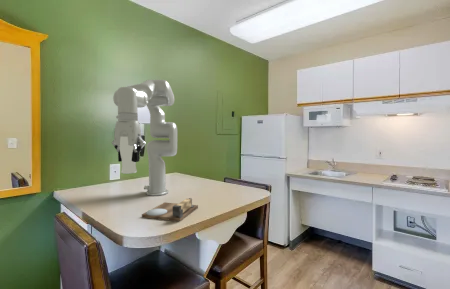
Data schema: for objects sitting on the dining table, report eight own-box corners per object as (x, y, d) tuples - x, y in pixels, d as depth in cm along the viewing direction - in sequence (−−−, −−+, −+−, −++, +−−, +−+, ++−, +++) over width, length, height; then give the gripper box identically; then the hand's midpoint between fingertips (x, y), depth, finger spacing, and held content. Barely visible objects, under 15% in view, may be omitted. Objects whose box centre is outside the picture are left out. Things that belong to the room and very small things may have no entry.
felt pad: (141, 214, 105) (141, 214, 105) (153, 208, 113) (153, 207, 113) (160, 216, 102) (160, 216, 102) (171, 210, 111) (171, 209, 111)
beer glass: (123, 171, 105) (122, 136, 104) (139, 170, 105) (139, 136, 105) (117, 173, 98) (116, 136, 97) (135, 173, 99) (134, 136, 98)
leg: (186, 206, 114) (186, 197, 114) (191, 206, 113) (191, 198, 113) (172, 215, 101) (172, 206, 101) (178, 216, 100) (178, 207, 100)
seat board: (141, 217, 105) (141, 205, 104) (164, 204, 123) (164, 194, 123) (180, 221, 100) (180, 208, 99) (198, 207, 118) (197, 197, 118)
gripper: (103, 118, 99) (105, 161, 100) (140, 117, 94) (141, 163, 95) (116, 118, 107) (117, 159, 108) (151, 118, 102) (152, 161, 103)
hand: (128, 161), depth 102 cm, fingers closed on beer glass, 6 cm apart
